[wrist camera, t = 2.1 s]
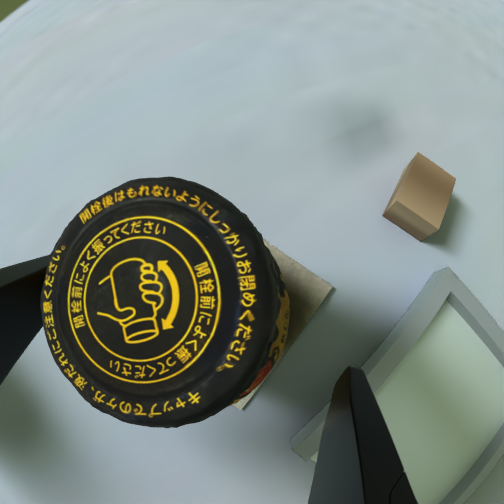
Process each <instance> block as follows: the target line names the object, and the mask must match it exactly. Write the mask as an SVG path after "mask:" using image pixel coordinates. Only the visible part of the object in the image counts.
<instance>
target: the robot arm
mask: <svg viewBox="0 0 504 504" xmlns="http://www.w3.org/2000/svg"><path fill="white" fill-rule="evenodd" d="M49 256H50V255H47V256H43V257H40V258H36V259H33V260H29V261H26V262H22V263H19V264H15V265H12V266H8V267H5V268H1V269H0V385H1V384H2V382H3V381H4V379H5V378H6V376H7V375H8V373H9V372H10V370H11V369H12V367H13V366H14V365H15V363H16V362H17V360H18V359H19V358H20V356H21V355H22V353H23V352H24V351H25V349H26V348H27V347H28V345H29V344H30V343H31V341H32V340H33V339H34V337H35V336H36V335H37V333H38V332H39V331H40V329H41V328H42V327H43V320H42V312H41V307H40V305H41V292H42V288H43V284H44V280H45V275H46V270H47V265H48V260H49ZM308 504H418V502H417V500H416V497H415V495H414V492H413V490H412V487H411V485H410V483H409V480H408V477H407V475H406V472H404V467H403V464H402V462H401V459H400V457H399V454H398V452H397V449H396V447H395V444H394V442H393V439H392V437H391V434H390V432H389V429H388V427H387V424H386V422H385V419H384V417H383V415H382V412H381V410H380V407H379V405H378V403H377V400H376V398H375V396H374V393H373V391H372V389H371V386H370V384H369V382H368V380H367V377H366V375H365V373H364V371H363V369H361V368H358V367H355V366H352V365H350V366H348V367H347V368H346V370H345V371H344V372H343V374H342V375H341V376H340V378H339V379H338V381H337V382H336V384H335V387H334V390H333V394H332V398H331V402H330V405H329V409H328V413H327V416H326V420H325V423H324V427H323V430H322V435H321V440H320V445H319V451H318V456H317V462H316V467H315V472H314V477H313V482H312V487H311V492H310V496H309V501H308Z"/></svg>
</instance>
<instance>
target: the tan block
mask: <svg viewBox="0 0 504 504" xmlns="http://www.w3.org/2000/svg"><path fill="white" fill-rule="evenodd" d="M455 181H456V179H455V178H454V177H453V176H451V175H450V174H449V173H447V172H446V171H445V170H443V169H442V168H440V167H439V166H438V165H436V164H435V163H433V162H432V161H430V160H429V159H428V158H426V157H425V156H423V155H422V154H420V153H419V152H418V153H417V154H416V155H415V157H414V158H413V159H412V160H411V162H410V163H409V164H408V166H407V167H406V168H405V169H404V171H403V173H402V176H401V178H400V180H399V182H398V184H397V186H396V189H395V191H394V193H393V195H392V197H391V199H390V201H389V203H388V205H387V207H386V209H385V211H384V213H383V215H382V216H384V217H385V218H387V219H388V220H390V221H391V222H393V223H394V224H396V225H397V226H399V227H400V228H402V229H403V230H405V231H406V232H407V233H409V234H410V235H412V236H413V237H415V238H416V239H418V240H419V241H420V242H421V241H422V240H424V239H426V238H427V237H429V236H430V235H432V234H433V233H435V232H436V231H438V230H439V228H440V225H441V222H442V220H443V217H444V214H445V211H446V208H447V206H448V203H449V200H450V197H451V194H452V191H453V188H454V184H455Z"/></svg>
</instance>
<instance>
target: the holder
mask: <svg viewBox="0 0 504 504" xmlns="http://www.w3.org/2000/svg"><path fill="white" fill-rule="evenodd" d="M361 369H363V371H364V373H365V375H366V377H367V380H368V382H369V384H370V386H371V389H372V391H373V393H374V396H375V398H376V400H377V403H378V405H379V407H380V410H381V412H382V415H383V417H384V419H385V422H386V424H387V427H388V429H389V432H390V434H391V437H392V439H393V442H394V444H395V447H396V449H397V452H398V454H399V457H400V459H401V462H402V464H403V467H404V472H406V475H407V477H408V480H409V483H410V485H411V487H412V490H413V492H414V495H415V497H416V500H417V502H418V504H464V503H465V502H466V501H467V499H468V498H469V497H470V496H471V495H472V494H473V493H474V491H475V490H476V489H477V488H478V487H479V485H480V484H481V483H482V482H483V481H484V479H485V478H486V477H487V476H488V474H489V473H490V472H491V470H492V469H493V468H494V466H495V465H496V464H497V462H498V461H499V460H500V458H501V457H502V456H503V454H504V332H503V330H502V329H501V328H500V326H499V325H498V324H497V323H496V321H495V320H494V319H493V318H492V316H491V315H490V314H489V313H488V311H487V310H486V309H485V308H484V307H483V305H482V304H481V303H480V302H479V301H478V299H477V298H476V297H475V296H474V295H473V294H472V292H471V291H470V290H469V289H468V288H467V287H466V286H465V284H464V283H463V282H462V281H461V280H460V279H459V278H458V277H457V276H456V274H455V273H454V272H453V271H452V270H451V269H450V268H449V267H446V268H443V269H441V270H439V271H436V272H434V273H433V274H432V276H431V277H430V279H429V280H428V282H427V283H426V285H425V286H424V288H423V289H422V290H421V292H420V293H419V295H418V296H417V298H416V299H415V300H414V302H413V303H412V304H411V306H410V307H409V309H408V310H407V311H406V313H405V314H404V315H403V317H402V318H401V319H400V320H399V322H398V323H397V324H396V326H395V327H394V328H393V330H392V331H391V332H390V333H389V335H388V336H387V337H386V338H385V340H384V341H383V342H382V343H381V344H380V346H379V347H378V348H377V349H376V351H375V352H374V353H373V354H372V355H371V356H370V358H369V359H368V360H367V361H366V362H365V363H364V365H363V366H362V367H361ZM330 402H331V401H330ZM330 402H329V403H328V404H327V405H326V406H325V407H324V408H323V409H322V410H321V411H320V412H319V413H318V414H317V415H316V416H315V417H314V418H313V419H312V420H310V421H309V422H308V423H307V424H306V425H305V426H304V427H303V428H302V429H301V430H300V431H299V432H298V433H297V434H296V435H295V436H293V437H292V438H291V439H290V441H291V445H292V449H293V451H294V452H295V453H297V454H298V455H299V456H301V457H302V458H303V459H304V460H306V461H307V460H309V459H312V460H313V461H314V462H317V456H318V451H319V445H320V440H321V435H322V430H323V427H324V423H325V420H326V416H327V413H328V409H329V405H330Z"/></svg>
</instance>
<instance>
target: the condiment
mask: <svg viewBox="0 0 504 504" xmlns="http://www.w3.org/2000/svg"><path fill="white" fill-rule="evenodd" d="M331 288H332V286H331V285H329V284H328V283H326V282H325V281H324V280H322V279H320V278H319V277H317V276H316V275H314V274H313V273H312V272H310V271H309V270H307V269H306V268H304V267H303V266H302V265H300V264H298V263H297V262H296V261H294V260H293V259H291V258H290V257H288V256H287V255H285V254H284V253H283V252H281V251H280V250H278V249H277V248H276V247H274V246H272V245H270V244H269V243H268V242H267V241H265V240H264V239H263V238H262V234H261V233H259V232H258V231H257V229H256V228H255V227H254V225H253V224H252V222H251V221H250V220H249V218H248V217H247V215H246V214H244V213H242V212H240V210H239V209H238V208H237V207H236V206H234V205H233V204H232V203H231V202H230V201H228V200H227V199H225V198H224V197H222V196H221V195H219V194H218V193H216V192H214V191H213V190H211V189H209V188H207V187H205V186H203V185H200V184H198V183H196V182H192V181H187V180H184V179H180V178H175V177H161V178H141V179H135V180H130V181H128V182H126V183H124V184H122V185H120V186H118V187H116V188H114V189H112V190H110V191H108V192H106V193H104V194H103V195H101V196H99V197H98V198H96V199H94V200H91V201H90V202H89V203H87V204H86V205H85V207H84V208H83V209H82V210H81V211H80V212H79V213H78V214H77V215H76V216H75V217H74V219H73V220H72V221H71V222H70V223H69V224H68V226H67V227H66V228H65V230H64V232H63V233H62V235H61V237H60V238H59V240H58V241H57V243H56V245H55V247H54V250H53V251H52V253H51V254H50V256H49V260H48V265H47V270H46V275H45V280H44V284H43V288H42V292H41V305H40V307H41V312H42V320H43V327H44V331H45V335H46V338H47V342H48V345H49V348H50V351H51V353H52V356H53V358H54V360H55V362H56V364H57V365H58V367H59V368H60V370H61V372H62V373H63V374H64V376H65V377H66V378H67V379H68V380H69V381H70V382H71V383H72V385H73V386H74V387H75V388H76V390H77V391H78V392H79V394H80V395H81V396H82V397H83V398H84V399H85V400H86V401H87V402H89V403H90V404H91V405H92V406H93V407H95V408H96V409H98V410H99V411H101V412H103V413H106V414H109V415H111V416H113V417H115V418H117V419H119V420H121V421H123V422H127V423H130V424H136V425H141V426H148V427H164V428H170V427H174V428H177V427H180V426H183V425H186V424H191V423H197V422H200V421H203V420H205V419H207V418H209V417H211V416H213V415H215V414H217V413H218V412H220V411H221V410H223V409H224V408H226V407H228V406H230V405H233V406H235V407H236V408H238V409H239V410H240V411H241V409H242V408H243V407H244V406H245V404H246V403H247V402H248V401H249V399H250V398H251V397H252V396H253V394H254V393H255V392H256V391H257V389H258V388H259V387H260V386H261V384H262V383H263V382H264V380H265V379H266V378H267V377H268V375H269V374H270V373H271V371H272V370H273V369H274V367H275V366H276V365H277V364H278V362H279V361H280V360H281V358H282V357H283V356H284V354H285V353H286V352H287V350H288V349H289V348H290V346H291V345H292V344H293V342H294V341H295V340H296V338H297V337H298V335H299V334H300V333H301V331H302V330H303V328H304V327H305V326H306V324H307V323H308V321H309V320H310V319H311V317H312V316H313V314H314V313H315V311H316V310H317V309H318V307H319V306H320V304H321V303H322V302H323V300H324V299H325V297H326V296H327V294H328V293H329V291H330V290H331Z"/></svg>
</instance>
